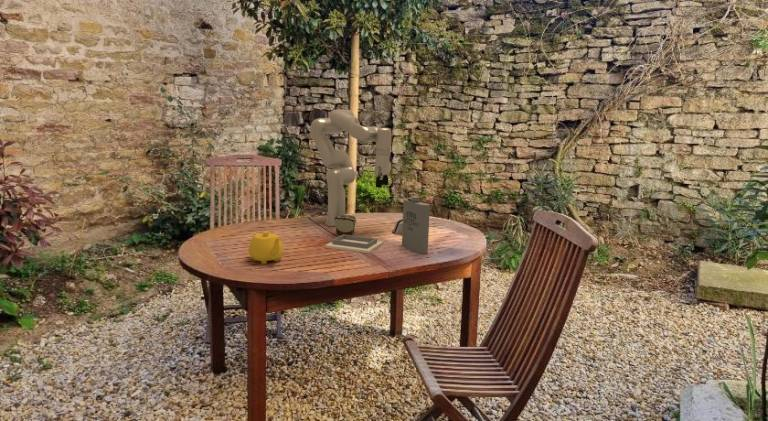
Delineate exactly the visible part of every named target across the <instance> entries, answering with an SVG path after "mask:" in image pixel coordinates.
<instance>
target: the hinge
mask: <svg viewBox="0 0 768 421" xmlns="http://www.w3.org/2000/svg"><path fill="white" fill-rule="evenodd" d="M402 228H403V217H401V218H398V219H397V220H396V222H395V225H394V228H393V229H392V230H391V233H392V234H394V235H396V236H398V234H399V235H402ZM393 232H395V233H393Z"/></svg>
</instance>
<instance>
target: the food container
mask: <svg viewBox="0 0 768 421" xmlns="http://www.w3.org/2000/svg"><path fill="white" fill-rule="evenodd" d="M334 220H335V226H334V227H335V236H337V237H339V236H341V235H343V234H344V235H352V236H355V227H356V223H357V218H356V216H355V215H350V214H345V215H337V216H335V217H334Z"/></svg>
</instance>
